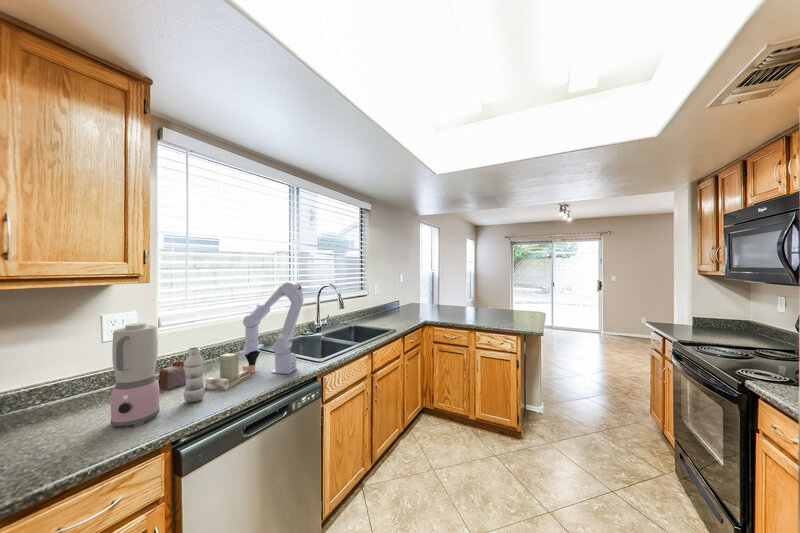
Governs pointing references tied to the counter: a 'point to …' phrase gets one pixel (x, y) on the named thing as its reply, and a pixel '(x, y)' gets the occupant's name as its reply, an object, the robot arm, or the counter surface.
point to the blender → (134, 375)
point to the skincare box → (229, 367)
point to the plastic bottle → (194, 376)
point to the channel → (223, 382)
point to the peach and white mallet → (247, 369)
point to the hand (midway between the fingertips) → (252, 366)
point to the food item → (172, 376)
